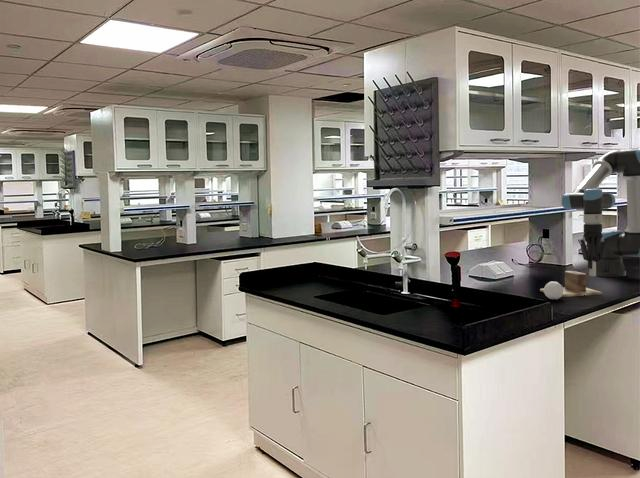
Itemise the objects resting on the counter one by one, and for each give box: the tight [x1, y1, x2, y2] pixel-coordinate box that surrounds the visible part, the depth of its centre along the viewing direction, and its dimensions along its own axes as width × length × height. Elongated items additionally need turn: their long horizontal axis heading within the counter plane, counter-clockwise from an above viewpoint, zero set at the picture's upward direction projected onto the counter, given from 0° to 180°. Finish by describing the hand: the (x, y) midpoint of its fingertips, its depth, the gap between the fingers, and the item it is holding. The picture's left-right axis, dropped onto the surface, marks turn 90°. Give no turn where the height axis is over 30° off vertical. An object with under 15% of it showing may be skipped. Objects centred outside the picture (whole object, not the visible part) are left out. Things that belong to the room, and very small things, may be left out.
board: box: [539, 286, 603, 298], centre depth 254 cm, size 20×16×1 cm
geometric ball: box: [543, 281, 563, 300], centre depth 241 cm, size 8×8×8 cm
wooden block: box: [564, 270, 587, 292], centre depth 254 cm, size 4×10×8 cm, turn 7°
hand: (592, 275), depth 255 cm, fingers closed
